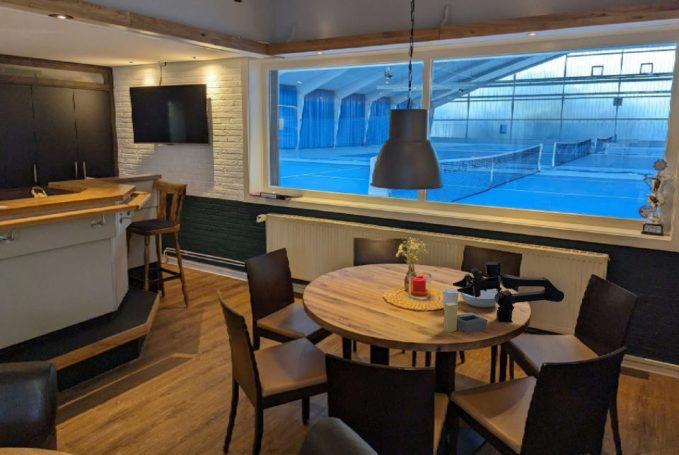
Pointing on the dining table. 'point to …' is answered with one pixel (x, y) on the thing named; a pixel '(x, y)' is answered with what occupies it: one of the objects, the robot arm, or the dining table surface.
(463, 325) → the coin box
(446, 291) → the white cup
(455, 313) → the pale yellow block
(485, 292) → the serving bowl
